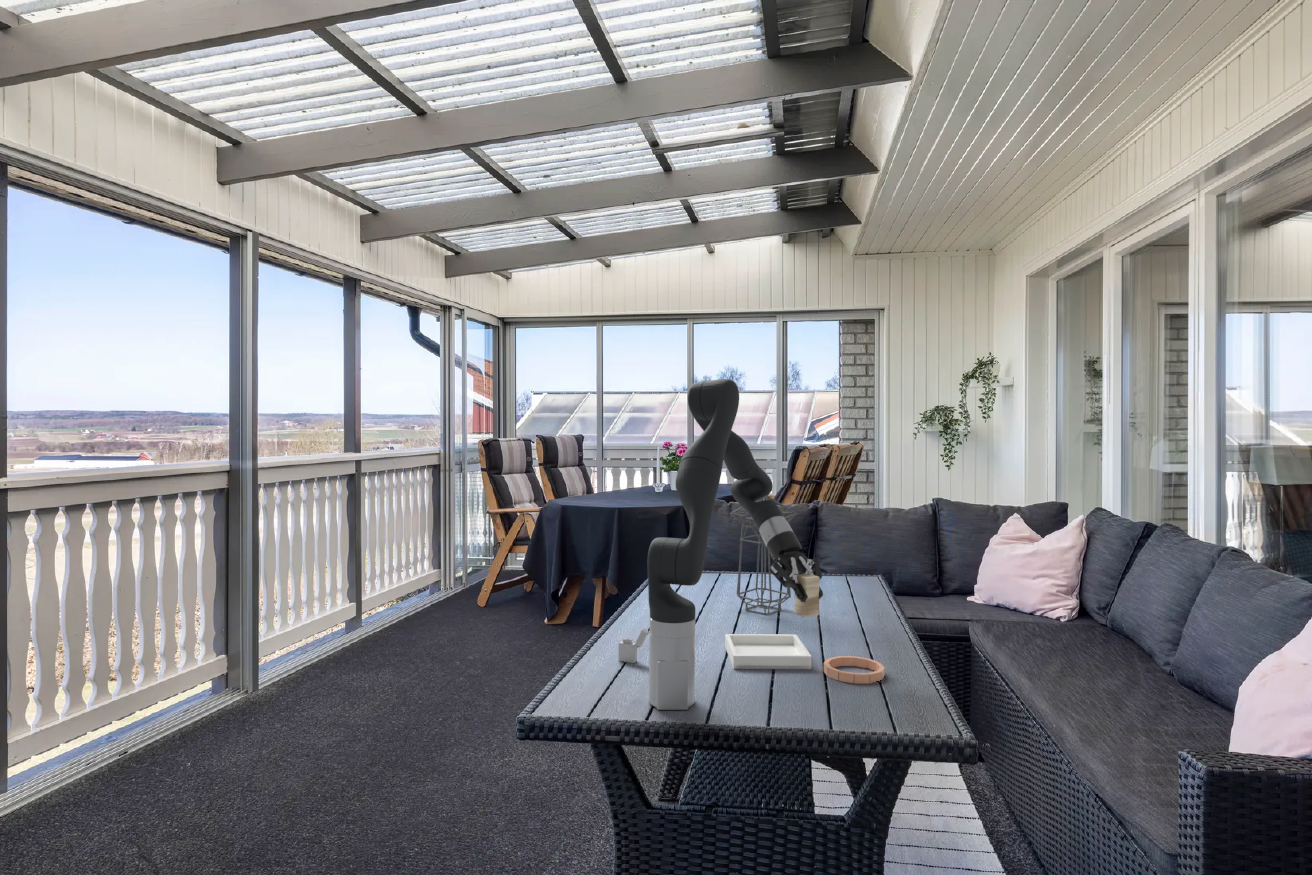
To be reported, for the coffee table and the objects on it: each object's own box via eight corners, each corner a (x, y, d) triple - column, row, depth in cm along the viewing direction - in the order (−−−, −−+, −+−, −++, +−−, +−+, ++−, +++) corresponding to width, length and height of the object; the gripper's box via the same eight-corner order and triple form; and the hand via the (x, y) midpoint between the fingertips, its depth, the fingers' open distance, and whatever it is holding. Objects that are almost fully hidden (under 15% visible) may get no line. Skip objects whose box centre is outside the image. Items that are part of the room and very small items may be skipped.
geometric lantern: (799, 610, 234) (801, 495, 232) (767, 621, 223) (768, 499, 221) (758, 600, 245) (759, 490, 243) (725, 610, 234) (726, 494, 232)
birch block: (818, 615, 181) (819, 576, 181) (805, 617, 179) (806, 578, 179) (807, 611, 185) (808, 573, 184) (794, 613, 183) (794, 575, 182)
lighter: (618, 660, 184) (618, 627, 184) (621, 658, 185) (621, 625, 185) (646, 664, 181) (646, 630, 181) (648, 662, 183) (649, 628, 183)
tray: (811, 669, 179) (811, 656, 179) (733, 668, 179) (733, 655, 179) (795, 646, 197) (796, 634, 197) (725, 645, 197) (725, 634, 197)
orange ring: (891, 683, 170) (891, 674, 170) (832, 683, 170) (832, 674, 170) (873, 664, 183) (873, 656, 183) (818, 664, 183) (818, 655, 183)
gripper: (763, 531, 184) (796, 593, 174) (809, 527, 191) (843, 586, 181) (749, 550, 189) (781, 611, 179) (795, 546, 196) (827, 604, 186)
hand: (812, 598), depth 180 cm, fingers closed on birch block, 4 cm apart
